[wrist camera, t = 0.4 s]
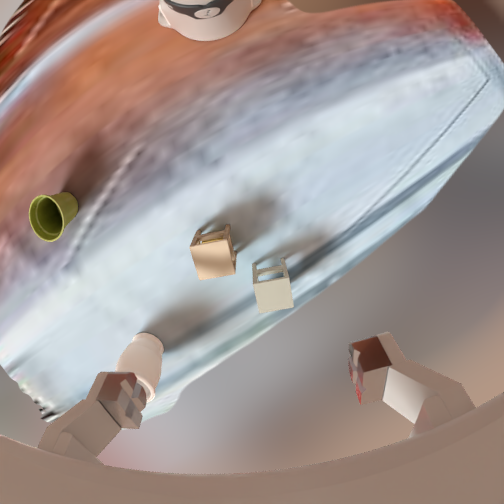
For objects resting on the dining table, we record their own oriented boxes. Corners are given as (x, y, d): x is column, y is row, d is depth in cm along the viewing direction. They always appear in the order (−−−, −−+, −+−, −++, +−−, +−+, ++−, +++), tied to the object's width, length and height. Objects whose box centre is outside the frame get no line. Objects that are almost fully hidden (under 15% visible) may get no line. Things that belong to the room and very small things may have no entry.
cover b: (252, 263, 59) (253, 284, 52) (283, 257, 59) (289, 277, 51) (258, 290, 62) (259, 313, 54) (288, 285, 61) (293, 307, 54)
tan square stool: (196, 230, 56) (189, 247, 49) (229, 224, 56) (226, 240, 48) (205, 260, 59) (199, 280, 51) (236, 254, 58) (235, 274, 51)
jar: (130, 323, 65) (110, 366, 51) (171, 336, 67) (157, 382, 53) (127, 352, 69) (109, 394, 56) (164, 364, 71) (152, 408, 57)
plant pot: (89, 224, 55) (68, 239, 47) (56, 228, 55) (35, 243, 47) (80, 181, 51) (57, 191, 43) (47, 188, 51) (24, 199, 43)
